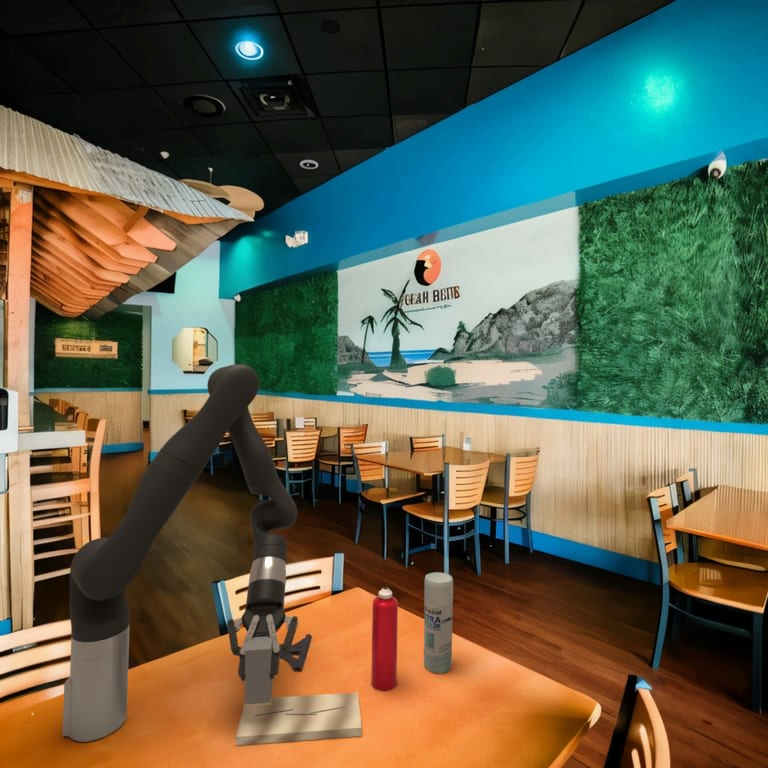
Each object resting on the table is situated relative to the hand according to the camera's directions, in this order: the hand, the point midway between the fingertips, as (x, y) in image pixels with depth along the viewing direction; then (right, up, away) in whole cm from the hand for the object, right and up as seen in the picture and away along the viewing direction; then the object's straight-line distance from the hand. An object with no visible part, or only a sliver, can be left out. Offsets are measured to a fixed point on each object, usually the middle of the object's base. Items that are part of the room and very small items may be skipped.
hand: (258, 678), depth 85 cm
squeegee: (-3, -11, +25) cm, 28 cm away
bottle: (+23, -10, +15) cm, 29 cm away
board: (+7, -10, +3) cm, 12 cm away
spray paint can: (+35, -11, +21) cm, 42 cm away
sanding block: (0, -5, +2) cm, 5 cm away
